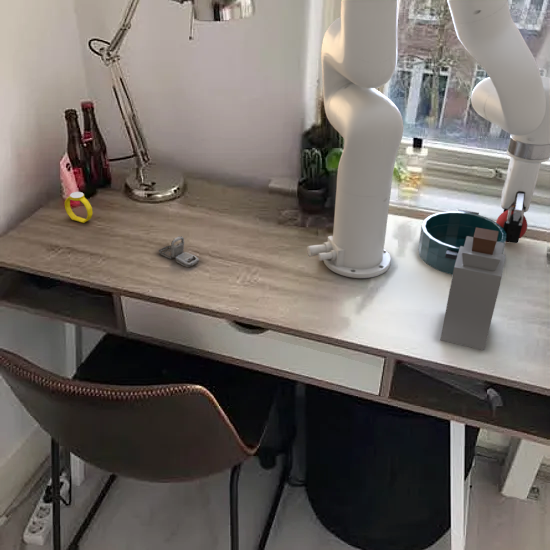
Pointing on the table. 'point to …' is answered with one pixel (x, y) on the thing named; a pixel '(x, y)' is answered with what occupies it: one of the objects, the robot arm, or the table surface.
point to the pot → (451, 236)
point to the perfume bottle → (474, 290)
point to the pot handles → (452, 253)
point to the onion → (503, 218)
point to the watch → (80, 197)
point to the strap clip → (179, 253)
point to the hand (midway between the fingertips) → (509, 229)
